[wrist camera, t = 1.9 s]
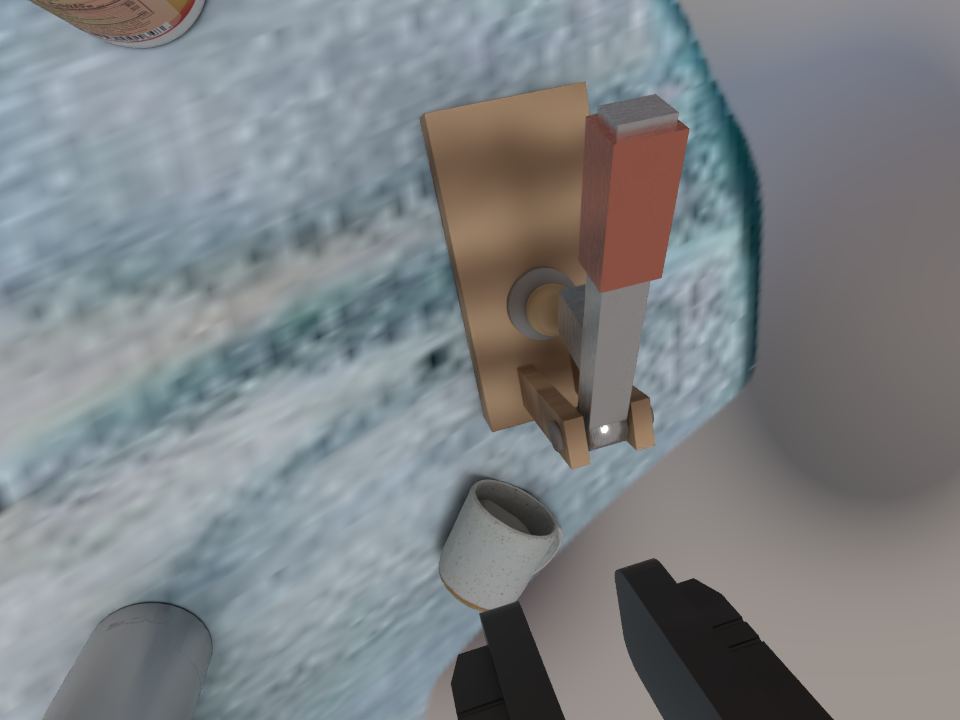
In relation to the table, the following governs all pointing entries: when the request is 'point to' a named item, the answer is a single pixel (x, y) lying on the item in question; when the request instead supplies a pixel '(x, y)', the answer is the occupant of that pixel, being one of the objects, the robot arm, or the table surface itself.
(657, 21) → the table surface
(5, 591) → the table surface
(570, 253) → the base
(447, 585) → the ceramic mug
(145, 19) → the fruit juice
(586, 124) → the lever
